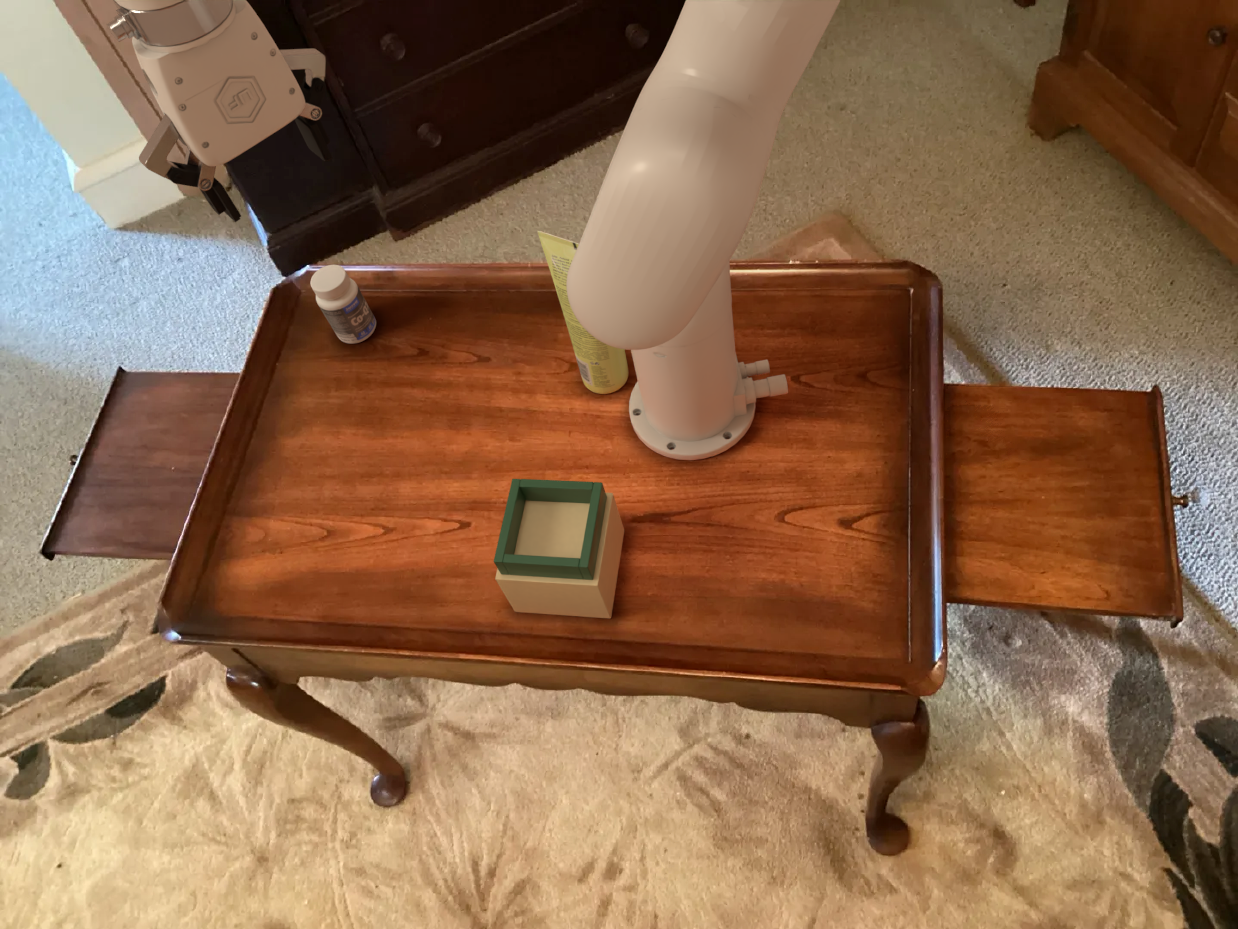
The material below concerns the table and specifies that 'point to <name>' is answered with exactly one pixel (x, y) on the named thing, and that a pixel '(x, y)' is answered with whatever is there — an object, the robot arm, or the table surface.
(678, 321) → the robot arm
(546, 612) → the green rimmed box
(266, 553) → the table surface
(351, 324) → the pill bottle
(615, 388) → the tube
